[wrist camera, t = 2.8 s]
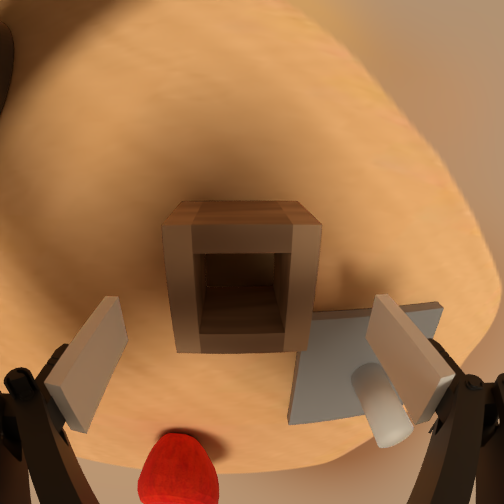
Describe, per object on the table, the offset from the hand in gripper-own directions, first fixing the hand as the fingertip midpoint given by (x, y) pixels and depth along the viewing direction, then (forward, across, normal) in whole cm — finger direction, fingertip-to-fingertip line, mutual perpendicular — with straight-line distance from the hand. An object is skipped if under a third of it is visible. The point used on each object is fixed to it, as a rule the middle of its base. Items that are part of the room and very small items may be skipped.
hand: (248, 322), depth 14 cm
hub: (+8, 0, 0) cm, 8 cm away
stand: (+8, +12, -12) cm, 18 cm away
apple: (+8, -7, -24) cm, 26 cm away
